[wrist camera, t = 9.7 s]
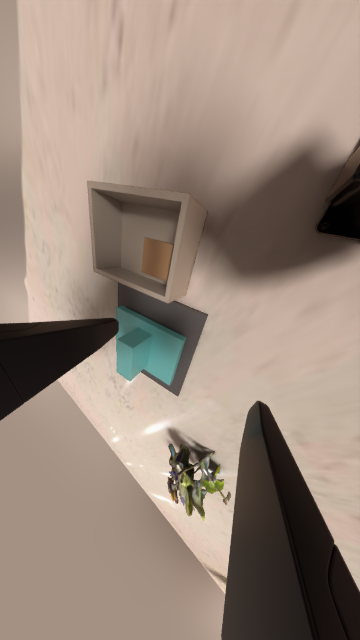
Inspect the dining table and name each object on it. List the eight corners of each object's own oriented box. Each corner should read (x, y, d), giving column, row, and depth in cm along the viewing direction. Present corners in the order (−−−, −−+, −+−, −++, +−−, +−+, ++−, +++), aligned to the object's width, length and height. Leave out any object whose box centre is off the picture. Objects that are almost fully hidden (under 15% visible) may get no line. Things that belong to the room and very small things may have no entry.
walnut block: (185, 247, 17) (173, 244, 15) (178, 278, 19) (166, 281, 17) (159, 240, 19) (144, 237, 16) (155, 270, 21) (141, 271, 18)
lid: (188, 335, 22) (166, 358, 17) (174, 378, 27) (154, 406, 22) (125, 304, 26) (91, 314, 21) (123, 346, 31) (96, 363, 26)
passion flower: (196, 427, 39) (156, 446, 32) (224, 430, 31) (179, 455, 25) (209, 483, 34) (165, 518, 27) (246, 503, 26) (197, 558, 20)
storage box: (207, 211, 16) (189, 193, 11) (186, 295, 20) (168, 303, 16) (122, 197, 20) (87, 180, 16) (121, 269, 24) (93, 271, 20)
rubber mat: (208, 314, 20) (206, 315, 19) (179, 394, 29) (177, 396, 28) (121, 278, 25) (118, 278, 25) (119, 355, 34) (117, 356, 34)
